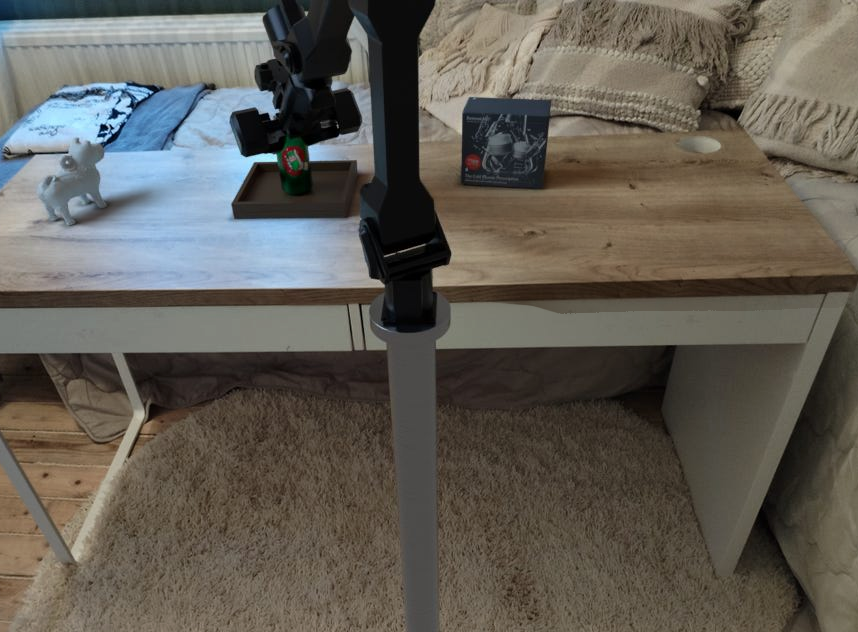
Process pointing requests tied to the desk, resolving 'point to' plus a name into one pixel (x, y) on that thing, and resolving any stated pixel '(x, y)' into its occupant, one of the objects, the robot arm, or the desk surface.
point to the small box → (504, 142)
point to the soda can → (294, 165)
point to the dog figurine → (73, 180)
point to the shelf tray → (270, 201)
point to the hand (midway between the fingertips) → (289, 147)
